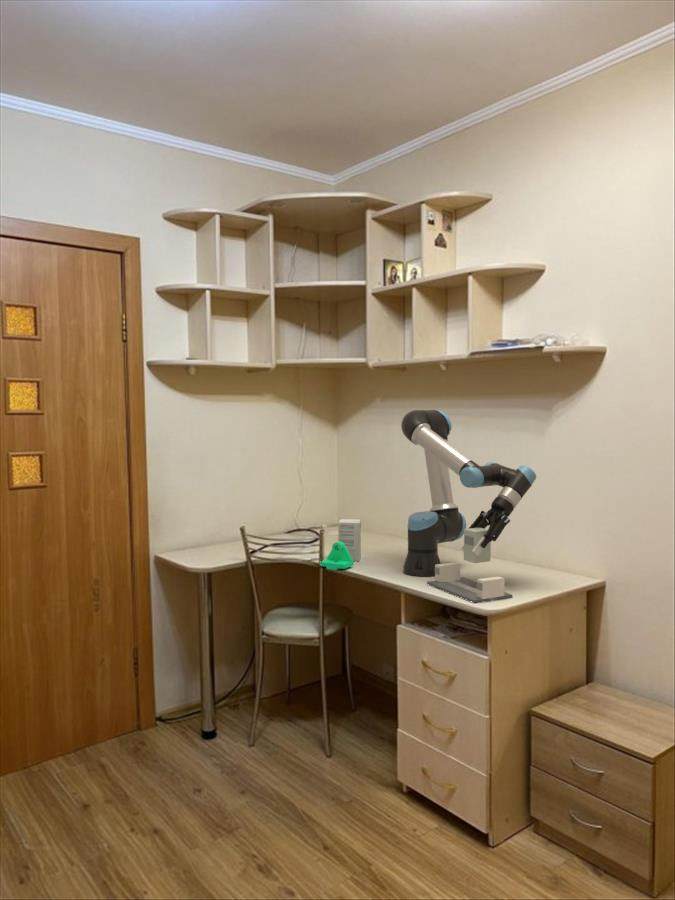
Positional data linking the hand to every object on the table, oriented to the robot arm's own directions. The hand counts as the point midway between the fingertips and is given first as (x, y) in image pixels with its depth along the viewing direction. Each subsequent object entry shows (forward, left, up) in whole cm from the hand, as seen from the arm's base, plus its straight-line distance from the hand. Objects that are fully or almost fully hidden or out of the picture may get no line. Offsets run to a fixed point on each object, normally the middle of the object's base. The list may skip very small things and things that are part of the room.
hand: (468, 551), depth 240 cm
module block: (0, +4, -3) cm, 5 cm away
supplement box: (-66, -14, -14) cm, 69 cm away
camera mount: (-55, -25, -14) cm, 62 cm away
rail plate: (-1, 0, -14) cm, 14 cm away
